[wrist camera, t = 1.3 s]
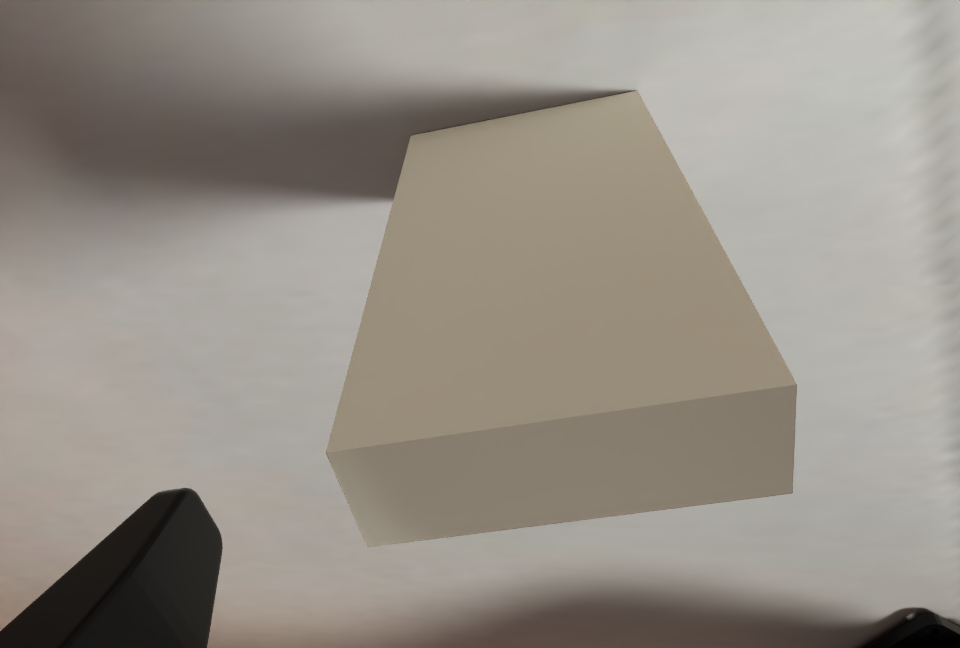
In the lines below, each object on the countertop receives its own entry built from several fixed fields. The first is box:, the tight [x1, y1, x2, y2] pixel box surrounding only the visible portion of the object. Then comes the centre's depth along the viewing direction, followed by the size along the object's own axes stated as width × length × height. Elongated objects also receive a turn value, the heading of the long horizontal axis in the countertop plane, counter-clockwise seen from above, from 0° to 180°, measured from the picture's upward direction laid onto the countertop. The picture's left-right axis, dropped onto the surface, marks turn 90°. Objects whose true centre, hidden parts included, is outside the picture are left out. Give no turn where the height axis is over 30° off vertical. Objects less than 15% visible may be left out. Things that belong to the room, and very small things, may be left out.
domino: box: [326, 91, 797, 547], centre depth 12 cm, size 2×5×10 cm, turn 101°
